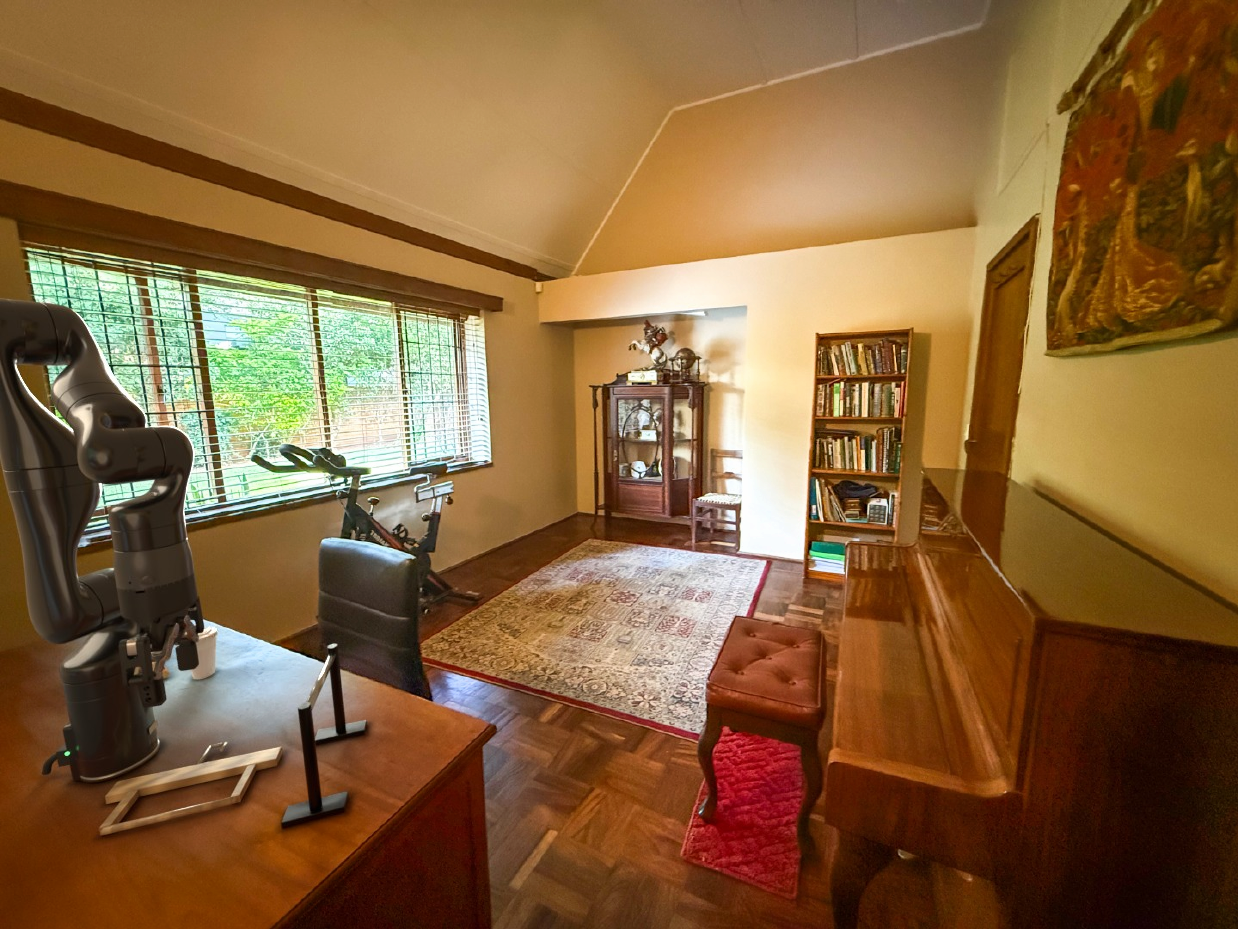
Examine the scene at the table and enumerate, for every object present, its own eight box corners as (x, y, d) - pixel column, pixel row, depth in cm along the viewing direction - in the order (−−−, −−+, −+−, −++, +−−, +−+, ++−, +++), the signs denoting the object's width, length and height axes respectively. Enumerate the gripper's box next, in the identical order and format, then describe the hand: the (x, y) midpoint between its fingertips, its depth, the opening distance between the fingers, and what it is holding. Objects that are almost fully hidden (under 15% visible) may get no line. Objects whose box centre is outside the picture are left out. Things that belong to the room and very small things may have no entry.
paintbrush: (154, 634, 115) (174, 666, 104) (155, 645, 116) (175, 677, 104) (132, 641, 112) (150, 674, 101) (133, 651, 113) (151, 685, 101)
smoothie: (227, 671, 105) (219, 613, 103) (190, 686, 100) (181, 625, 98) (216, 663, 109) (208, 606, 106) (180, 677, 103) (170, 617, 101)
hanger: (69, 837, 65) (138, 756, 79) (71, 846, 65) (139, 764, 79) (260, 792, 72) (291, 725, 86) (261, 800, 72) (292, 732, 86)
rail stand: (281, 829, 67) (267, 718, 65) (318, 734, 86) (308, 645, 83) (344, 812, 70) (333, 705, 67) (367, 724, 88) (359, 638, 86)
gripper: (152, 560, 68) (168, 663, 71) (80, 601, 55) (102, 726, 57) (215, 555, 71) (228, 654, 73) (161, 593, 57) (178, 713, 60)
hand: (173, 686), depth 65 cm, fingers open, 8 cm apart
